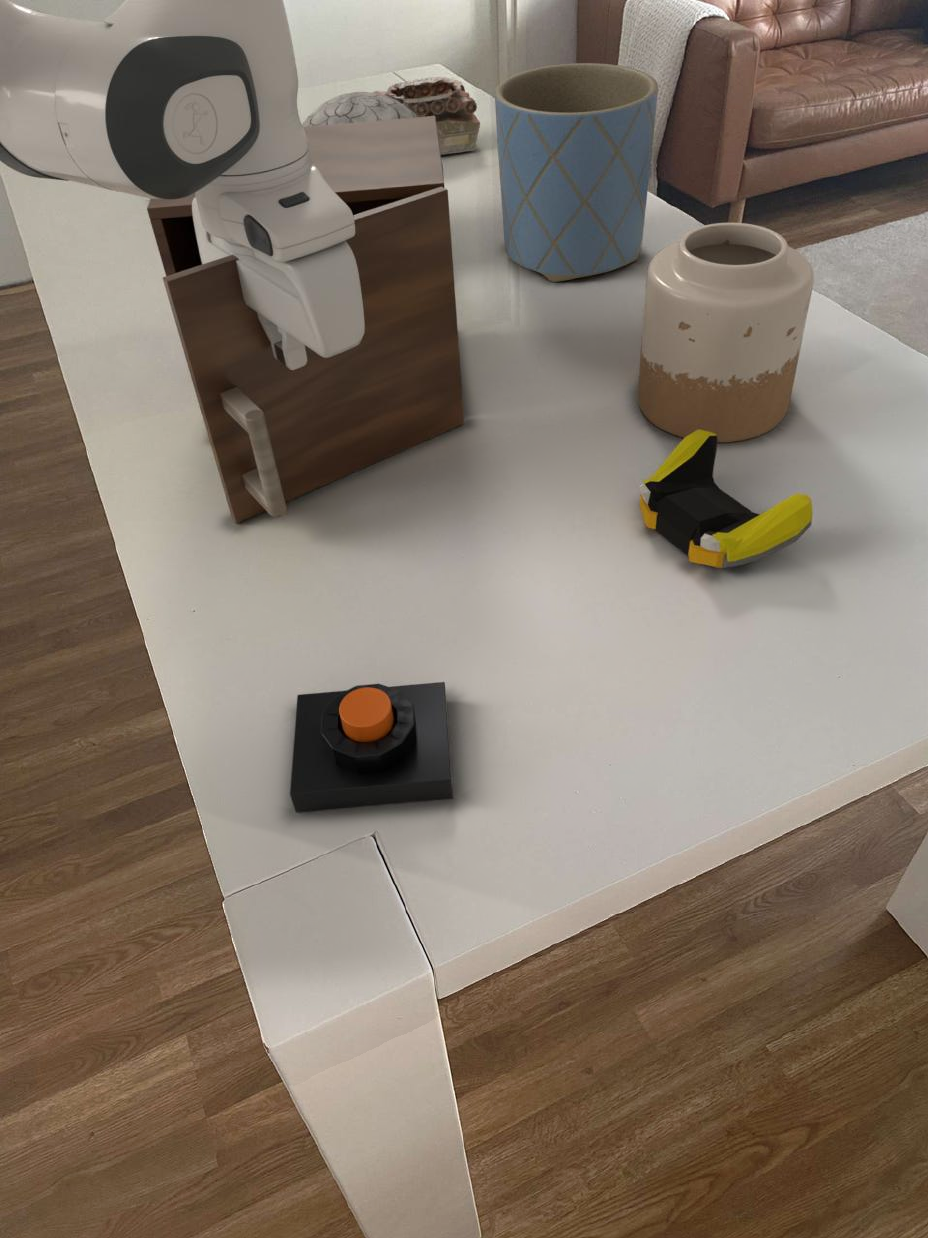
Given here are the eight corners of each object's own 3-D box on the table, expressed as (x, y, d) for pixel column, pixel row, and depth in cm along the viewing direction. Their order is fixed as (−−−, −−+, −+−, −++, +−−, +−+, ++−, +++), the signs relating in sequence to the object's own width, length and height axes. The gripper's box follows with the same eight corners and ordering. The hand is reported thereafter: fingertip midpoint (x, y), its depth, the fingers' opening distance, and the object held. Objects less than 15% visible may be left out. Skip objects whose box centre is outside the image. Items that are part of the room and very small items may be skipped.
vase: (796, 374, 104) (828, 216, 92) (778, 454, 94) (811, 289, 82) (654, 356, 108) (667, 204, 96) (621, 431, 98) (632, 271, 86)
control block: (295, 812, 67) (284, 778, 65) (302, 713, 74) (292, 678, 71) (453, 798, 68) (449, 763, 65) (446, 700, 74) (442, 665, 71)
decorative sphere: (354, 218, 140) (332, 64, 126) (475, 238, 133) (466, 77, 119) (272, 276, 128) (239, 113, 114) (400, 302, 121) (381, 131, 107)
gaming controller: (697, 467, 93) (613, 505, 90) (704, 418, 89) (616, 456, 86) (815, 551, 83) (726, 597, 80) (828, 500, 80) (735, 545, 76)
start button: (342, 745, 67) (338, 729, 66) (343, 705, 69) (339, 689, 68) (394, 740, 67) (391, 724, 66) (393, 701, 69) (390, 684, 68)
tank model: (487, 164, 152) (484, 96, 146) (360, 179, 151) (351, 112, 144) (474, 136, 162) (471, 71, 155) (354, 150, 161) (346, 85, 154)
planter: (675, 262, 124) (691, 91, 110) (543, 299, 119) (543, 125, 105) (597, 211, 137) (603, 53, 123) (475, 243, 132) (467, 81, 118)
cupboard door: (497, 448, 97) (487, 208, 80) (264, 555, 87) (197, 308, 71) (459, 419, 101) (441, 185, 85) (232, 518, 91) (162, 277, 75)
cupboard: (461, 418, 101) (444, 182, 85) (212, 440, 101) (146, 208, 85) (451, 334, 114) (435, 115, 98) (231, 353, 114) (177, 137, 97)
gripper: (157, 170, 77) (201, 332, 87) (289, 247, 65) (322, 425, 74) (228, 149, 80) (263, 308, 89) (367, 219, 67) (390, 394, 77)
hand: (291, 362), depth 82 cm, fingers closed
